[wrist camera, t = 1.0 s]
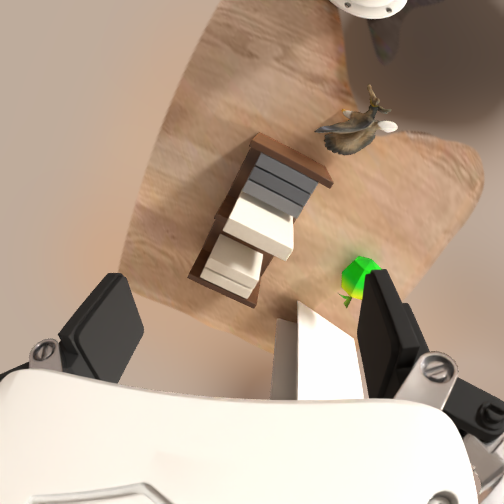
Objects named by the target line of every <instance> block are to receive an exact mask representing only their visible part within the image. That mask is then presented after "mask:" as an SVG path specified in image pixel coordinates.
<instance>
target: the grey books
mask: <svg viewBox="0 0 504 504" xmlns="http://www.w3.org/2000/svg"><path fill="white" fill-rule="evenodd" d="M317 184H318V182H317V181H315V180H313V179H311V178H310V177H308V176H306V175H304V174H302V173H300V172H299V171H297V170H295V169H293V168H291V167H289V166H287V165H285V164H283V163H281V162H279V161H278V160H276V159H274V158H272V157H270V156H268V155H266V154H264V153H262V152H261V154H260V156H259V158H258V160H257V162H256V163H255V165H254V167H253V169H252V171H251V173H250V175H249V177H248V179H247V181H246V183H245V185H244V188H243V190H242V191H243V192H245V193H247V194H249V195H251V196H253V197H255V198H257V199H259V200H261V201H263V202H265V203H267V204H269V205H271V206H273V207H275V208H277V209H279V210H281V211H283V212H285V213H287V214H289V215H291V216H293V217H295V218H298V216H299V214H300V213H301V211H302V209H303V206H305V204H306V203H307V201H308V199H309V198H310V193H311V194H312V193H313V191H314V189H315V188H316V186H317Z"/></svg>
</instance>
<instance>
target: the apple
mask: <svg viewBox="0 0 504 504" xmlns="http://www.w3.org/2000/svg"><path fill="white" fill-rule="evenodd" d="M377 269H381V268H380V267H379V266H378V265H377V264H376V263H375V262H374V261H373V260H372V259H369V258H365V257H361V256H358V257H357V258H356V259H355V260H354V261H353V262H352V263H351V264H350V265H349V266H348V267H347V268H346V269H345V270H344V271H342V284H341V287H342V288H343V289H344V290H345V291H346V292H347V293H348V295H349V296H350V297H349V296H342V295H341V296H342V297H343V298H345V299H347V300H346V301H345V302H344V305H345V306H346V308H347V307H348V305H349V303H350V301H351V299H352V297H353V298H357V299H360V300H362V296H363V289H364V281H365V275H366V274H370V272H371V270H377ZM339 295H340V294H339Z"/></svg>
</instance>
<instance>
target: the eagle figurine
mask: <svg viewBox="0 0 504 504" xmlns="http://www.w3.org/2000/svg"><path fill="white" fill-rule="evenodd" d="M367 89H368V91H369V94H370V104H371V105H370V106H369V110H368V111H367V112H366V113H360V112H353V111H345V110H344V109H342V112H343V114H344V115H345V116H346V117H347V118H349V119H350V120H348V121H346V122H343V123H337V124H334V125H331V126H324V127H320V128H318V129H317V130H316V131H314V132H317V133H323V132H333V133H332V134H328V135H325V138H326V139H325V140H324V141H325V142H326V144H325V147H327V149H328V150H331V151H332V152H333V153H337V152H338V154H343V155H349V154H350V155H351V154H353V153H354V154H355V153H356V152H358V151H360V150H361V149H363V148H364V147H366V146H367V145H369V144H370V143H371V142H372V141H373V139H374V138H375V132H376V130H377V129H381V130H383V131H385V132H392V131H394V130H396V129H397V125H396V124H395V123H393V122H392V121H386V120H385V121H377V120H374V118H375V114H376V112H377V110H378V111H380V112H381V113H385V114H387V112H390V111H391V109H383V108H382V107H380V106H378V103H379V102H380V99H379V98H376V97H375V95H374V93H373V91H372V87H371V85H370V84H368V87H367Z"/></svg>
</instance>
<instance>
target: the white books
mask: <svg viewBox="0 0 504 504" xmlns="http://www.w3.org/2000/svg"><path fill="white" fill-rule="evenodd" d="M262 258H263V254H261V253H259V252H257V251H255V250H253V249H251V248H249V247H247V246H245V245H243V244H241V243H239V242H236V241H234V240H232V239H230V238H228V237H226V236H224V235H222V234H220V235H219V237H218V240H217V242H216V244H215V246H214V248H213V250H212V252H211V254H210V256H209V258H208V261H207V263H206V265H205V267H204V269H203V271H202V274H201V276H200V277H201V278H203V279H205V280H207V281H209V282H211V283H214V284H216V285H218V286H220V287H222V288H224V289H226V290H229V291H231V292H233V293H235V294H237V295H239V296H242V297H244V298H246V299H248V297H249V296H250V294H251V292H252V290H253V289H254V288H255V286H256V284H257V283H258V281H259V276H260V270H261V264H262Z"/></svg>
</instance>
